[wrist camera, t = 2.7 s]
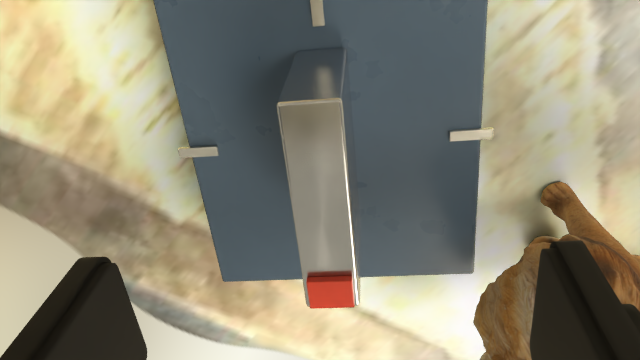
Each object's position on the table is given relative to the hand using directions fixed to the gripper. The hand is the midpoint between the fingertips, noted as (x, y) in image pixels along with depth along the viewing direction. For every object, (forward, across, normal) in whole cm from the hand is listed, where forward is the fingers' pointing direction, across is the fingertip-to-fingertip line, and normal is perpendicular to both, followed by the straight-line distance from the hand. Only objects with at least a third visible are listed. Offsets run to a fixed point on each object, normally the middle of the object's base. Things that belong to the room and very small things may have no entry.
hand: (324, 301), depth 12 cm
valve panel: (+10, 0, 0) cm, 10 cm away
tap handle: (+7, 0, 0) cm, 7 cm away
